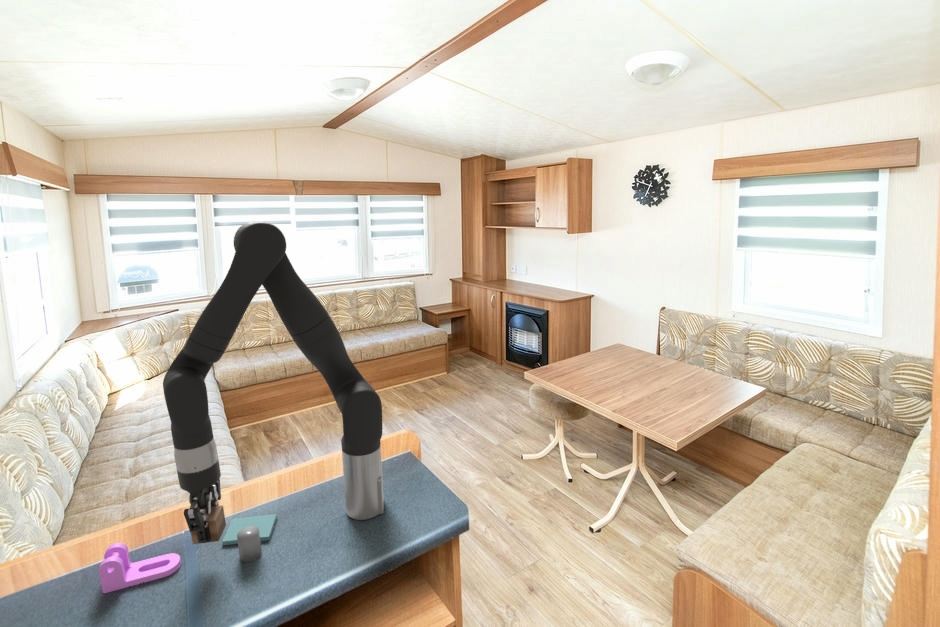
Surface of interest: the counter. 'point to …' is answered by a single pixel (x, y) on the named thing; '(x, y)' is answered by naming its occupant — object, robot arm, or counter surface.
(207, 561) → the counter surface
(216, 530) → the walnut block
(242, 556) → the grey rounded part
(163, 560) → the bracket
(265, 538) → the teal mat
